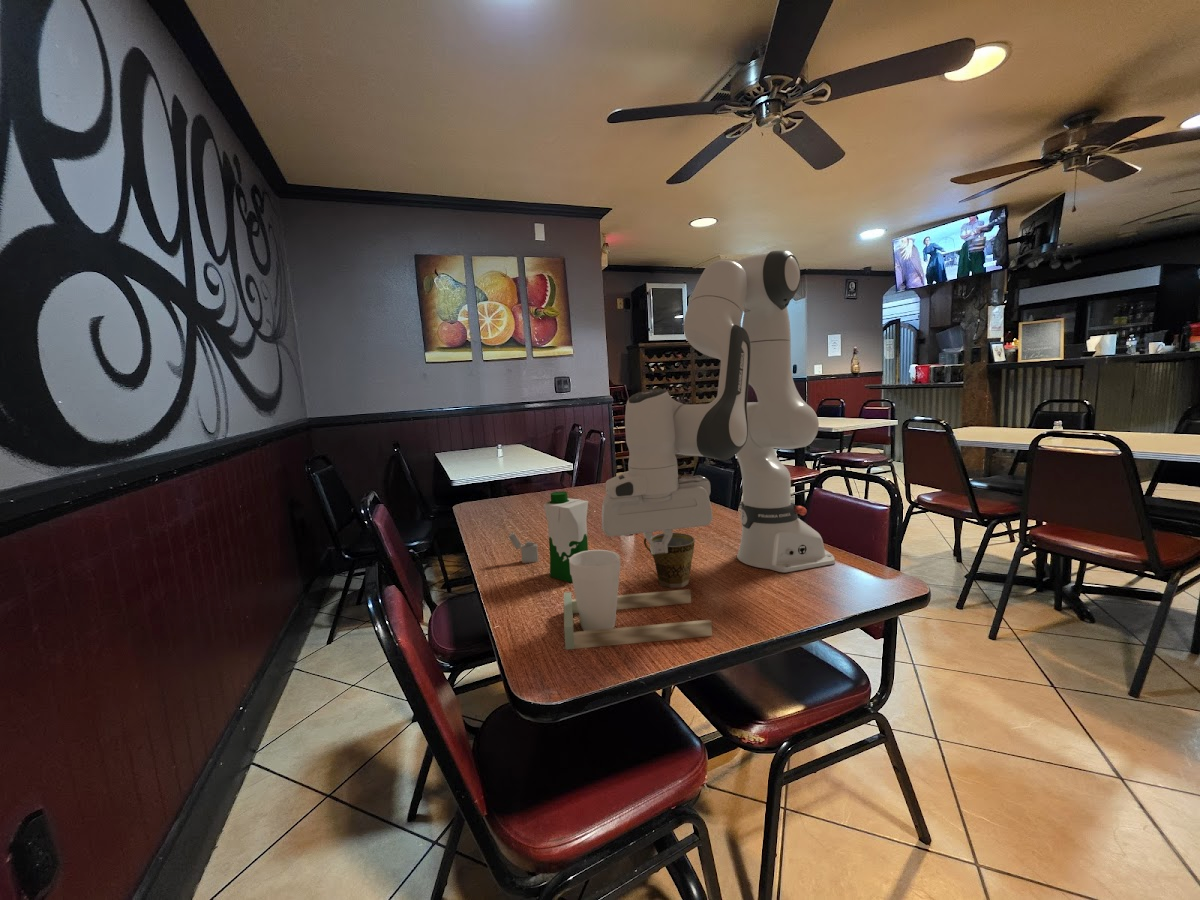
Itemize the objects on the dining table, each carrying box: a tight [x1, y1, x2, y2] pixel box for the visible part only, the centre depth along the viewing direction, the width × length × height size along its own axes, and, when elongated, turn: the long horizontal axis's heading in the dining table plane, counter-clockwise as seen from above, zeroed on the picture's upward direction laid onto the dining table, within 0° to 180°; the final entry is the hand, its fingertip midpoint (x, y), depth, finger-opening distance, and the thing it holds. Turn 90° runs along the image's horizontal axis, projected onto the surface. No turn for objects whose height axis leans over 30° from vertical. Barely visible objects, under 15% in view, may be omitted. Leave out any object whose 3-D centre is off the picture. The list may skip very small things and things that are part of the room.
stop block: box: [563, 591, 575, 651], centre depth 85 cm, size 2×14×4 cm, turn 5°
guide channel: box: [572, 588, 713, 650], centre depth 86 cm, size 24×14×2 cm, turn 95°
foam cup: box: [569, 549, 622, 631], centre depth 85 cm, size 10×9×13 cm
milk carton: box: [543, 491, 589, 584], centre depth 110 cm, size 9×9×20 cm
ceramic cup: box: [643, 532, 695, 589], centre depth 104 cm, size 13×10×10 cm
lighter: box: [508, 532, 539, 564], centre depth 121 cm, size 7×2×8 cm, turn 95°
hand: (659, 552), depth 85 cm, fingers closed
